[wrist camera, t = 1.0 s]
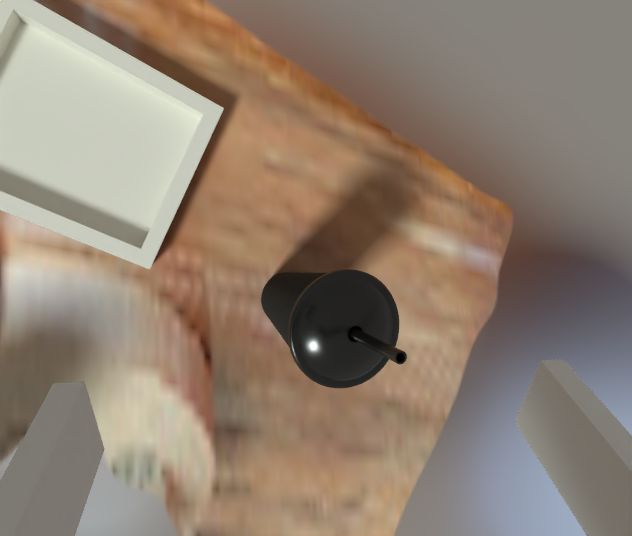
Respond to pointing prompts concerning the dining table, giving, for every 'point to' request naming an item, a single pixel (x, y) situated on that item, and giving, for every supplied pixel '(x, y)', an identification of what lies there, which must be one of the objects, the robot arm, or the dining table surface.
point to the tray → (93, 135)
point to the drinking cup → (335, 324)
